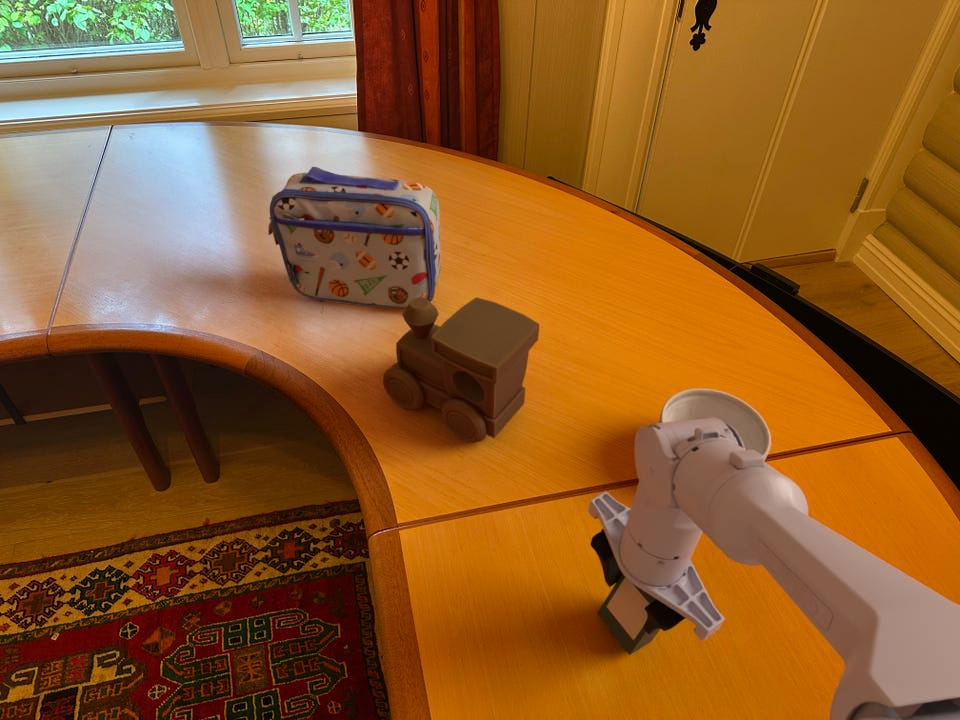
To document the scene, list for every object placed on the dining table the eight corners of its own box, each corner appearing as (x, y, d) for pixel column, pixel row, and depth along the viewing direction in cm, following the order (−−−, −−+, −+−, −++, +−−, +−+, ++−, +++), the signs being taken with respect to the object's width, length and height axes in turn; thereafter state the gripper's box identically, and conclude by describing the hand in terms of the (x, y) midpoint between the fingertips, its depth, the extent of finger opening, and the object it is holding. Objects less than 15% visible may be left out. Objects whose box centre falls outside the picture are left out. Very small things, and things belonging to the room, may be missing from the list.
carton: (653, 548, 61) (630, 559, 59) (690, 588, 58) (667, 601, 56) (618, 601, 65) (595, 613, 63) (651, 641, 62) (628, 655, 60)
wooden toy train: (536, 409, 86) (544, 318, 75) (491, 462, 79) (493, 371, 68) (426, 354, 94) (418, 265, 83) (376, 398, 87) (361, 308, 76)
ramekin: (766, 450, 81) (784, 415, 76) (736, 522, 73) (754, 488, 68) (671, 408, 86) (683, 373, 81) (633, 471, 78) (643, 436, 73)
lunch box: (278, 304, 104) (244, 185, 88) (300, 270, 111) (272, 155, 96) (436, 319, 101) (428, 199, 85) (447, 283, 108) (442, 166, 93)
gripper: (767, 573, 47) (720, 644, 56) (637, 448, 56) (615, 527, 65) (704, 622, 44) (665, 688, 53) (578, 482, 53) (563, 559, 62)
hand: (634, 602), depth 59 cm, fingers closed on carton, 5 cm apart
